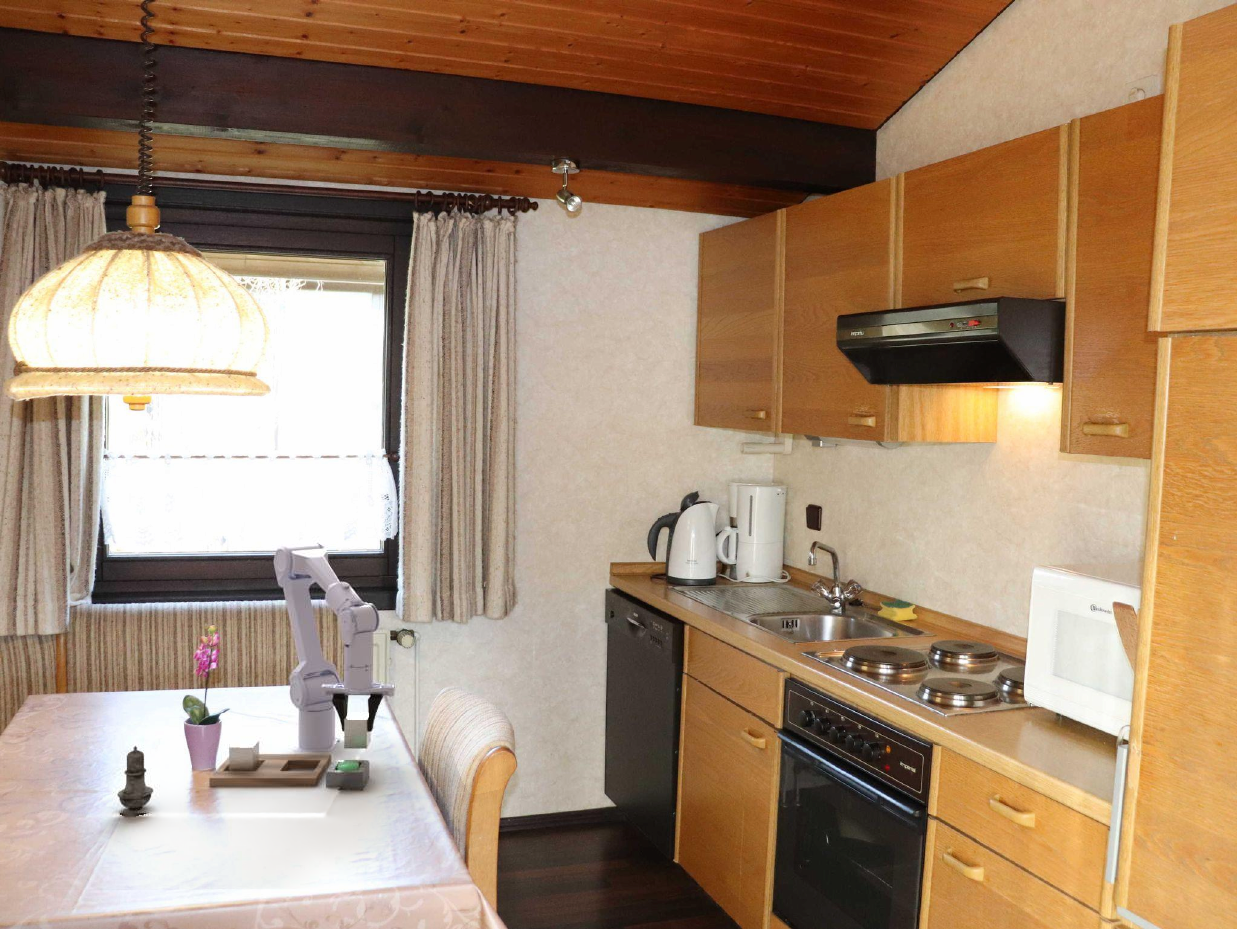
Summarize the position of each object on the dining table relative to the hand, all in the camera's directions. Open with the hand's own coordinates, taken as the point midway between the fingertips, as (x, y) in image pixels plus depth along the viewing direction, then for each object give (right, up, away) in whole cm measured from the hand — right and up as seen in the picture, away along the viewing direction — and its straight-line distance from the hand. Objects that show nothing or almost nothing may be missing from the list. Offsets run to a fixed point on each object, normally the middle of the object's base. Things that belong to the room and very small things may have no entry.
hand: (357, 730), depth 215 cm
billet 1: (-21, -7, -7) cm, 23 cm away
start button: (0, -7, -10) cm, 12 cm away
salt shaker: (-34, -8, -26) cm, 43 cm away
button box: (0, -8, -10) cm, 13 cm away
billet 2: (0, -3, 0) cm, 3 cm away
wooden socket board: (-15, -8, -7) cm, 18 cm away
